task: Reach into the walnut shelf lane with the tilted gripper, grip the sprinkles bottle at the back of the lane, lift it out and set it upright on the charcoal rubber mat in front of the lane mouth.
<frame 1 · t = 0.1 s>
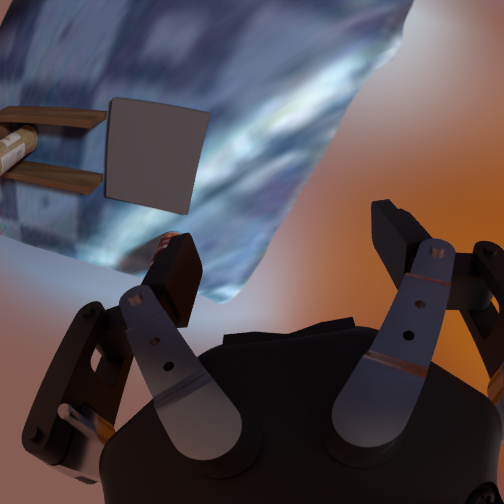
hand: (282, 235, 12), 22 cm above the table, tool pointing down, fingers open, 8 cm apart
pill bottle: (176, 242, 42), on the table
sprinkles bottle: (29, 137, 29), resting in shelf lane
rubber mat: (152, 156, 32), on the table
shelf lane: (49, 139, 30), on the table
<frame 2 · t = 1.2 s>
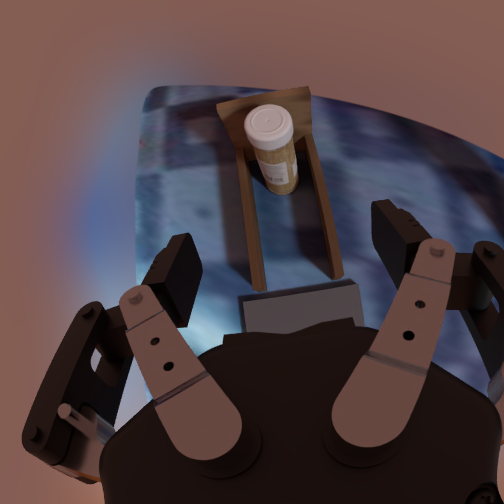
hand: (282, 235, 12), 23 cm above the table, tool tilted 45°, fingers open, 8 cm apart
sprinkles bottle: (282, 181, 37), resting in shelf lane
rubber mat: (307, 342, 32), on the table
shelf lane: (287, 211, 36), on the table
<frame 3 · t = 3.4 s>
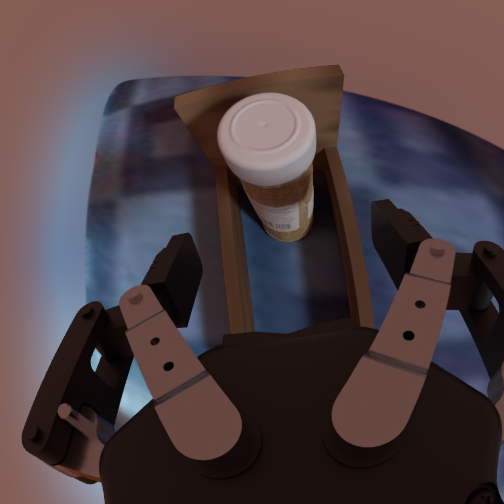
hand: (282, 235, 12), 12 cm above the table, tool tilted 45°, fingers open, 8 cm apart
sprinkles bottle: (287, 218, 25), resting in shelf lane
shelf lane: (295, 269, 24), on the table
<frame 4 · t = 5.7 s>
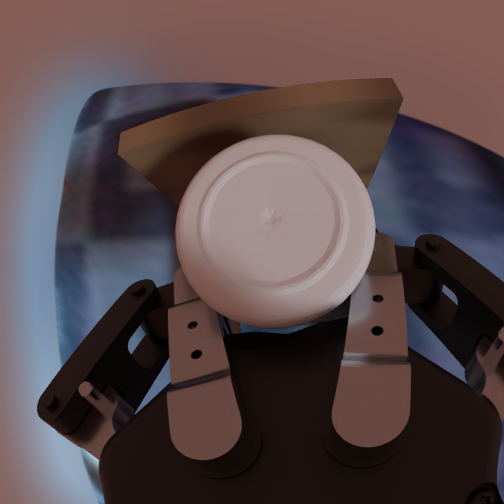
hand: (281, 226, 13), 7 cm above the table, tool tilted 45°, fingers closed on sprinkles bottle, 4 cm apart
sprinkles bottle: (294, 282, 19), resting in shelf lane, touching gripper
shelf lane: (303, 349, 18), on the table
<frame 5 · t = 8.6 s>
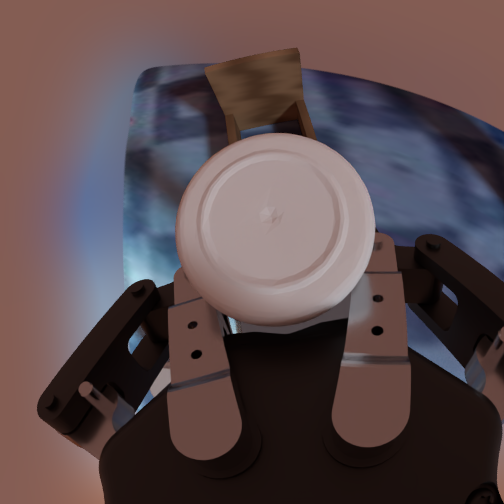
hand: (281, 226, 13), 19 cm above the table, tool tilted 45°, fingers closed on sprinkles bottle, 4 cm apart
pill bottle: (200, 371, 31), on the table
sprinkles bottle: (294, 282, 19), point 12 cm above the table, touching gripper
rubber mat: (304, 316, 30), on the table
shelf lane: (280, 178, 34), on the table
when the fingers open (8 cm above the table, at t = 11.7 s): sprinkles bottle stays where it is, resting on rubber mat.
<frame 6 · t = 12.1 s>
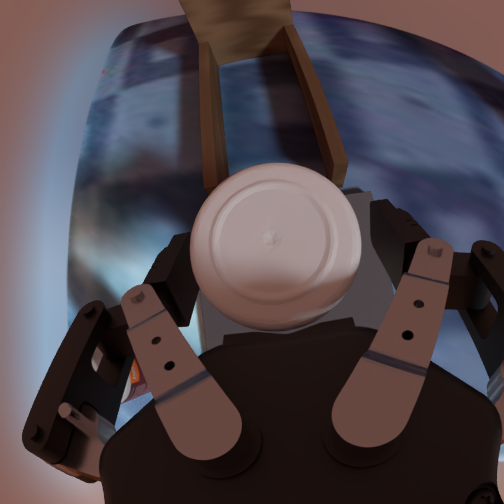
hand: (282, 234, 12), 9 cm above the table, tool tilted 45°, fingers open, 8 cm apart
pill bottle: (147, 362, 22), on the table
sprinkles bottle: (294, 286, 20), point 1 cm above the table, touching rubber mat
rubber mat: (295, 285, 21), on the table
shelf lane: (263, 108, 24), on the table
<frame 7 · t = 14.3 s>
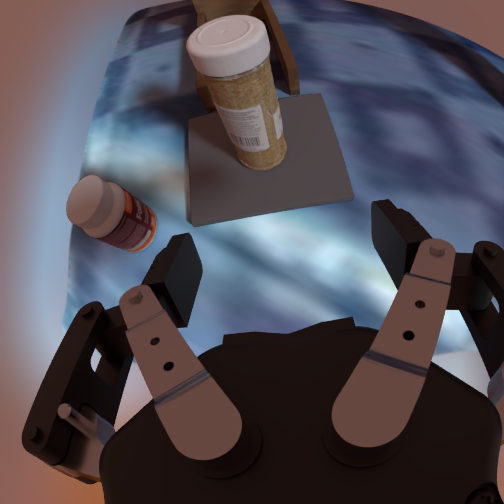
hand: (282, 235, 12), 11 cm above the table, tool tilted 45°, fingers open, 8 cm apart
pill bottle: (139, 229, 26), on the table
sprinkles bottle: (262, 152, 25), point 1 cm above the table, touching rubber mat
rubber mat: (263, 154, 25), on the table
shelf lane: (244, 53, 29), on the table
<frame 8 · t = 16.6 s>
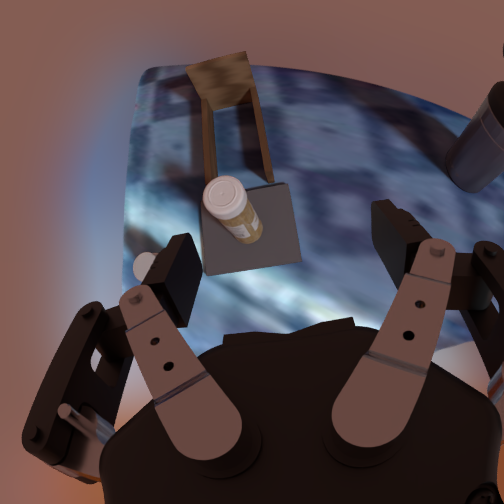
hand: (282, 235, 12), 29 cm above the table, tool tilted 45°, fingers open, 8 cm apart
pill bottle: (172, 275, 44), on the table
sprinkles bottle: (248, 229, 42), point 1 cm above the table, touching rubber mat
rubber mat: (248, 229, 43), on the table
shelf lane: (237, 140, 47), on the table
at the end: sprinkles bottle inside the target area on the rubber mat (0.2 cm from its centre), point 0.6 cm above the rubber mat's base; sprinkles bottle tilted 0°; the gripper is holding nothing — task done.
